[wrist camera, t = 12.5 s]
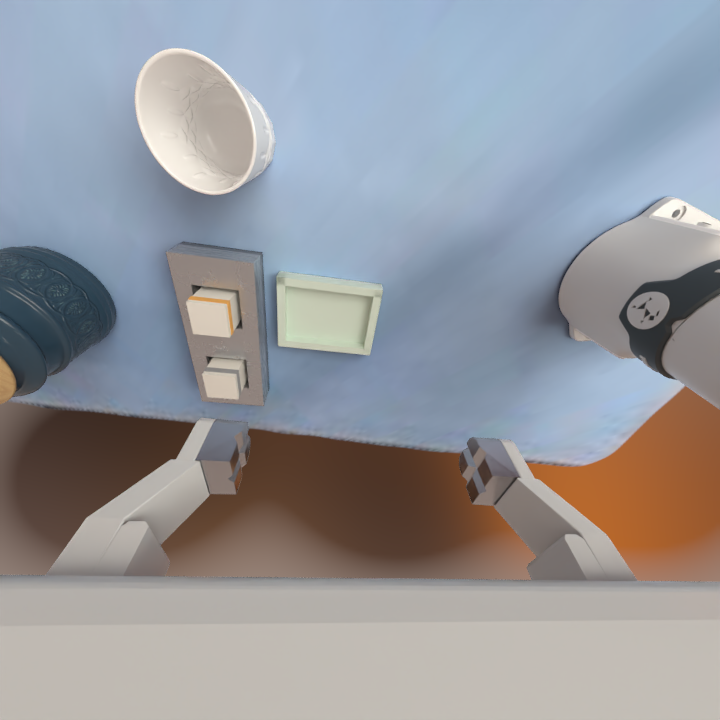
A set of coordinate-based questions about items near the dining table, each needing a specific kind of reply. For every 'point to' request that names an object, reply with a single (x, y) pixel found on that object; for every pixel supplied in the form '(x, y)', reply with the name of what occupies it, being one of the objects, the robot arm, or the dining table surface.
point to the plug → (214, 311)
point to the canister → (46, 316)
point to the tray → (326, 313)
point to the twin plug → (225, 377)
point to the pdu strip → (249, 338)
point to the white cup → (202, 122)
